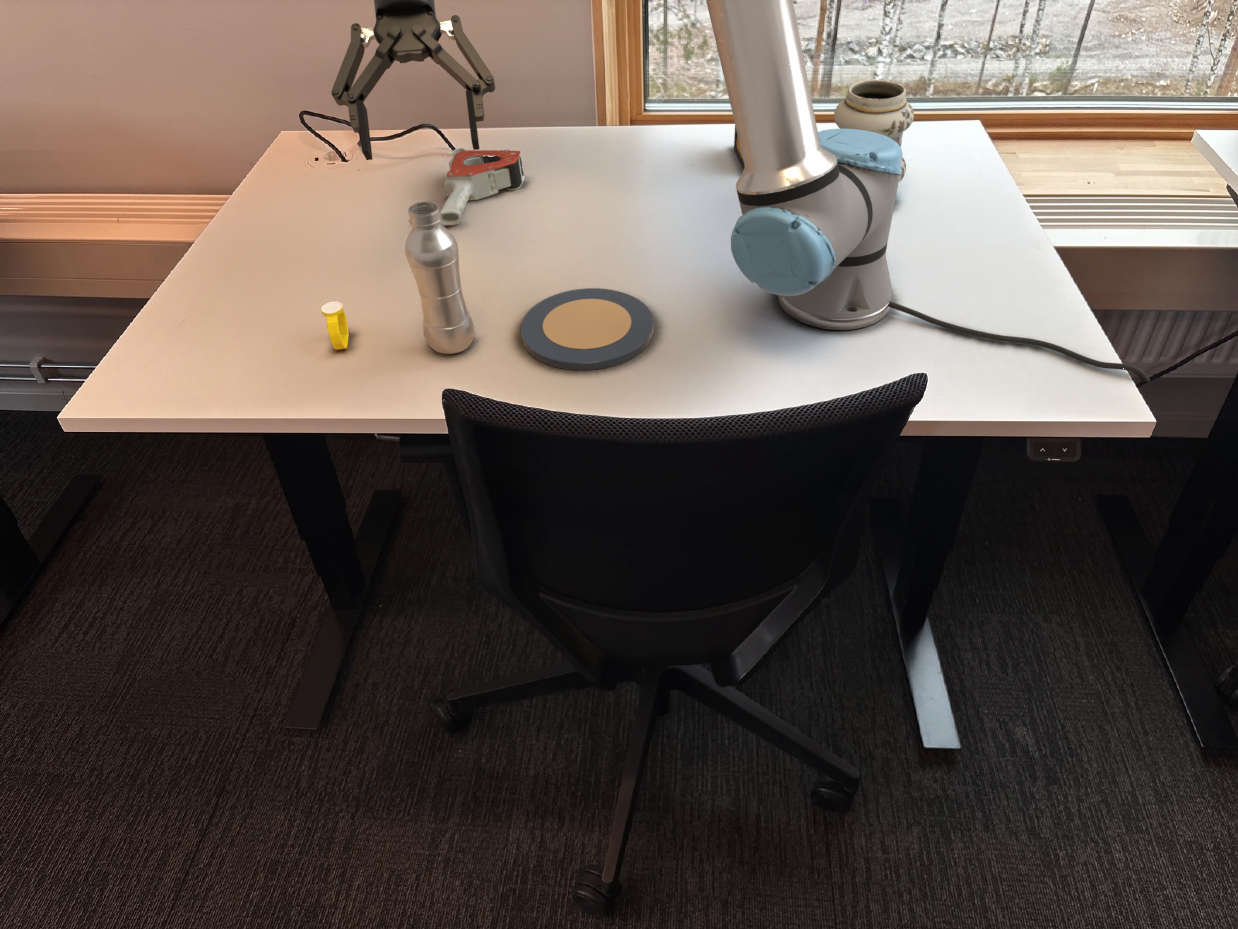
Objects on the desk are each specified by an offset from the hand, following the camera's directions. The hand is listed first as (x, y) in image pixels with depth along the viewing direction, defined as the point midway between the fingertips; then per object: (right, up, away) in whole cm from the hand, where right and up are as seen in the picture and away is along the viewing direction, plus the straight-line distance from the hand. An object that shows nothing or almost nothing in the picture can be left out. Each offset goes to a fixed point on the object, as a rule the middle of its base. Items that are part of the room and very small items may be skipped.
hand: (421, 150), depth 113 cm
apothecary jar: (+64, +3, +33) cm, 72 cm away
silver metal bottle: (+2, -24, +8) cm, 25 cm away
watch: (-13, -23, +9) cm, 28 cm away
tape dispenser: (0, +6, +40) cm, 41 cm away
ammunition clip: (+47, +14, +46) cm, 67 cm away
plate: (+21, -21, +9) cm, 31 cm away
